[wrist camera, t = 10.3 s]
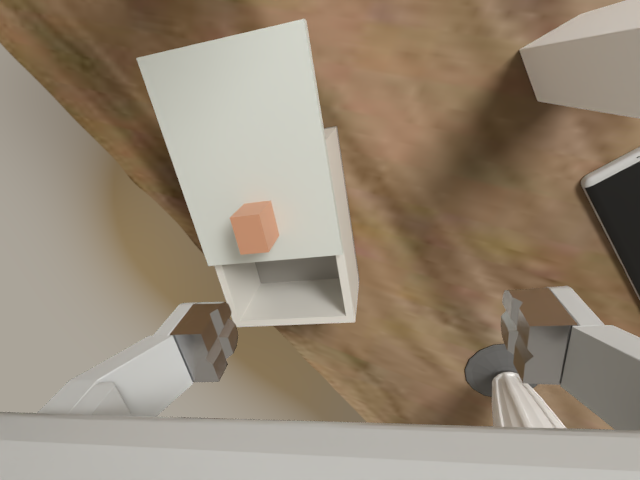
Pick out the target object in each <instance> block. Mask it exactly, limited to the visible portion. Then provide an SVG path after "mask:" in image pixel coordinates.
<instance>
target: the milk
mask: <svg viewBox="0 0 640 480" xmlns="http://www.w3.org/2000/svg"><path fill="white" fill-rule="evenodd" d="M519 51H520V54H521V57H522V60H523V62H524V65H525V68H526V71H527V74H528V76H529V79H530V82H531V85H532V87H533V90H534V93H535V96H536V99H537V101H538V102H544V103H550V104H556V105H562V106H568V107H574V108H580V109H586V110H592V111H598V112H604V113H610V114H616V115H622V116H628V117H634V118H640V0H626V1H622V2H619V3H616V4H612V5H609V6H606V7H602V8H599V9H596V10H592V11H589V12H586V13H582V14H580V15H578V16H576V17H575V18H573V19H571V20H569V21H568V22H566V23H564V24H562V25H561V26H559V27H557V28H556V29H554V30H552V31H550V32H549V33H547V34H545V35H544V36H542V37H540V38H538V39H537V40H535V41H533V42H532V43H530V44H528V45H526V46H525V47H523V48H521V49H520V50H519Z"/></svg>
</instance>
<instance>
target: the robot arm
mask: <svg viewBox="0 0 640 480" xmlns="http://www.w3.org/2000/svg"><path fill="white" fill-rule="evenodd" d="M502 303H503V305H504V307H505V309H506V312H505V313H504V314H503V315H502V316H501V332H502V338H503V341H504V344H505V346H506V349H507V351H509V352H510V353H512V354H513V355H514V360H513V364H514V366H515V368H516V370H517V372H518V374H519V376H520V379H521V381H522V383H526V384H558V385H561V387H562V388H564V389H565V390H566V391H567V392H569V393H570V394H571V395H572V396H574V397H575V398H576V399H577V400H579V401H580V402H581V403H582V404H584V405H585V406H586V407H587V408H589V409H590V410H591V411H592V412H594V413H595V414H596V415H597V416H599V417H600V418H601V419H602V420H604V421H605V422H606V423H607V424H609V425H610V426H611V427H612V428H614V429H615V430H605V429H570V428H530V427H494V426H462V425H429V424H397V423H362V422H361V423H360V422H327V421H290V420H287V421H286V420H255V419H253V420H252V419H218V418H185V417H156V416H157V415H159V414H160V413H161V412H162V411H163V410H164V409H165V408H167V407H168V406H169V405H170V404H171V403H172V402H173V401H174V400H175V399H177V398H178V397H179V396H180V395H181V394H182V393H183V392H184V391H186V390H187V389H188V388H189V387H190V386H191V385H192V384H193V382H218V381H220V379H221V377H222V375H223V373H224V371H225V369H226V367H227V365H228V364H227V361H226V358H228V357H229V356H231V355H232V354H233V353H234V351H235V349H236V346H237V341H238V332H237V327H236V324H235V323H234V322H233V321H232V320H230V319H229V317H230V315H231V313H232V312H231V309H230V306H229V304H228V303H226V302H198V303H195V302H194V303H182V304H179V306H178V307H177V308H176V309H175V310H174V311H173V313H172V314H171V315H170V316H169V317H168V319H167V320H166V321H165V322H164V323H163V324H162V326H161V327H160V328H159V329H158V330H157V331H156V333H155V334H154V335H153V336H147V337H146V338H144V339H142V340H140V341H139V342H137V343H135V344H134V345H132V346H130V347H128V348H126V349H124V350H123V351H121V352H119V353H117V354H115V355H114V356H112V357H110V358H108V359H107V360H105V361H103V362H101V363H99V364H98V365H96V366H94V367H92V368H91V369H89V370H87V371H85V372H84V373H82V374H80V375H78V376H76V377H75V378H73V379H71V380H70V381H68V382H67V383H66V384H65V385H64V386H63V387H62V388H61V389H60V390H59V391H58V392H57V393H56V394H55V395H54V396H53V397H52V399H50V400H49V401H48V402H47V403H46V405H44V407H42V408H41V409H40V411H39V412H38V413H13V412H0V480H640V337H637V336H635V335H633V334H631V333H628V332H626V331H624V330H622V329H619V328H617V327H615V326H613V325H604V324H603V323H602V321H601V320H600V319H599V318H598V317H597V316H596V315H595V314H594V313H593V311H592V310H591V309H590V308H589V307H588V306H587V305H586V304H585V303H584V302H583V300H582V299H581V298H580V297H579V296H578V295H577V294H576V293H575V292H574V290H573V289H572V288H570V287H568V286H558V287H546V288H534V289H516V290H505V291H504V294H503V301H502Z"/></svg>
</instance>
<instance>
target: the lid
mask: <svg viewBox="0 0 640 480" xmlns="http://www.w3.org/2000/svg"><path fill="white" fill-rule="evenodd" d="M136 59H137V62H138V65H139V68H140V70H141V73H142V76H143V79H144V82H145V85H146V88H147V91H148V94H149V96H150V99H151V102H152V105H153V108H154V111H155V114H156V117H157V120H158V122H159V125H160V128H161V131H162V134H163V137H164V140H165V143H166V146H167V148H168V151H169V154H170V157H171V160H172V163H173V166H174V169H175V171H176V174H177V177H178V180H179V183H180V186H181V189H182V192H183V195H184V197H185V200H186V203H187V206H188V209H189V212H190V215H191V218H192V221H193V223H194V226H195V229H196V232H197V235H198V238H199V241H200V244H201V247H202V249H203V252H204V255H205V258H206V261H207V264H208V266H215V265H227V264H239V263H251V262H263V261H275V260H286V259H298V258H310V257H322V256H334V255H343V245H342V238H341V232H340V226H339V220H338V214H337V207H336V201H335V195H334V189H333V183H332V177H331V170H330V164H329V158H328V152H327V146H326V139H325V133H324V127H323V121H322V115H321V108H320V102H319V96H318V90H317V84H316V77H315V71H314V65H313V59H312V53H311V46H310V40H309V34H308V28H307V22H306V20H305V19H301V20H297V21H293V22H288V23H284V24H280V25H276V26H271V27H267V28H263V29H258V30H254V31H250V32H246V33H241V34H237V35H233V36H228V37H224V38H220V39H216V40H211V41H207V42H203V43H198V44H194V45H190V46H186V47H181V48H177V49H173V50H168V51H164V52H160V53H156V54H151V55H147V56H143V57H138V58H136Z"/></svg>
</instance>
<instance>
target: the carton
mask: <svg viewBox="0 0 640 480" xmlns="http://www.w3.org/2000/svg"><path fill="white" fill-rule="evenodd" d="M324 133H325V139H326V146H327V152H328V158H329V164H330V170H331V177H332V183H333V189H334V195H335V201H336V207H337V214H338V220H339V226H340V232H341V238H342V245H343V255H334V256H322V257H310V258H298V259H286V260H275V261H263V262H251V263H239V264H227V265H215V269H216V272H217V276H218V279H219V281H220V284H221V287H222V290H223V293H224V296H225V299H226V302H227V303H228V304H229V306H230V309H231V312H232V313H231V317H232V320H233V322H234V323H235V324H236V327H253V326H277V325H300V324H324V323H348V322H355V320H356V309H357V298H358V287H359V274H358V267H357V260H356V253H355V247H354V240H353V233H352V226H351V219H350V212H349V205H348V199H347V192H346V185H345V178H344V171H343V164H342V158H341V151H340V144H339V137H338V130H337V126H335V127H329V128H324Z"/></svg>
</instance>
